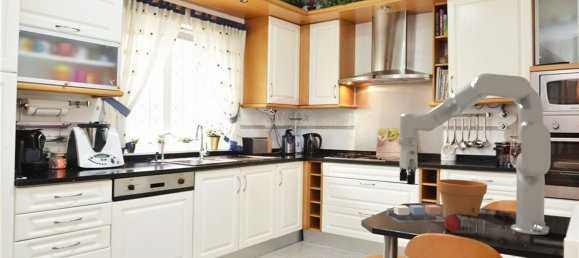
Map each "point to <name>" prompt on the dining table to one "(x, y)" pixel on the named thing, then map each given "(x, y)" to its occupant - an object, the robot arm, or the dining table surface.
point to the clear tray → (413, 217)
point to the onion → (452, 222)
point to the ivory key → (401, 210)
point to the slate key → (417, 209)
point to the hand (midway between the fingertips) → (407, 182)
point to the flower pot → (462, 196)
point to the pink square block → (432, 209)
